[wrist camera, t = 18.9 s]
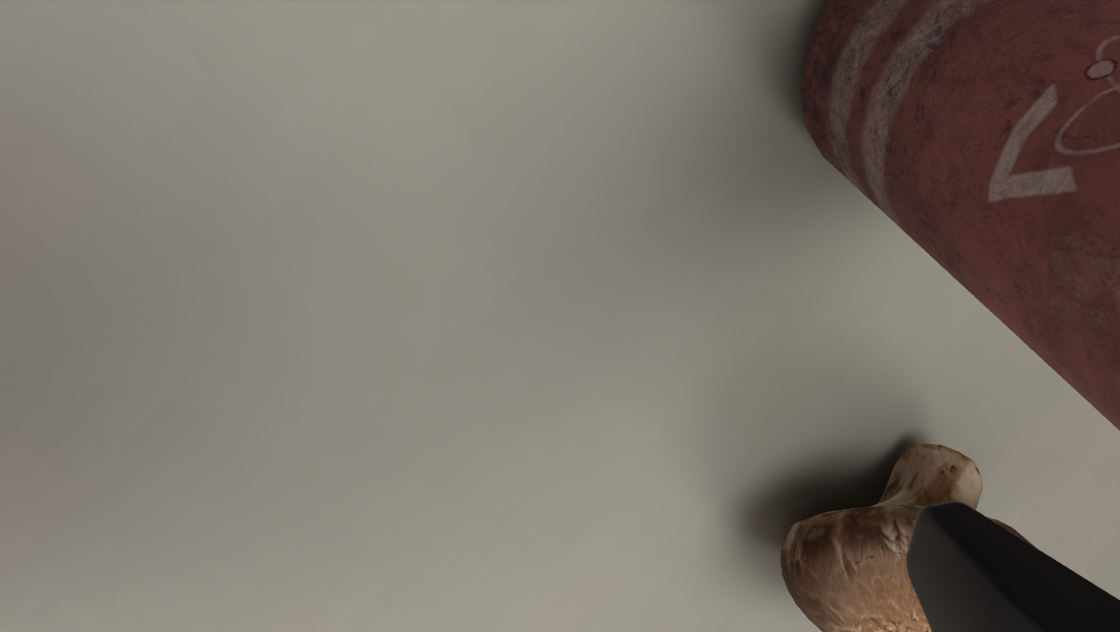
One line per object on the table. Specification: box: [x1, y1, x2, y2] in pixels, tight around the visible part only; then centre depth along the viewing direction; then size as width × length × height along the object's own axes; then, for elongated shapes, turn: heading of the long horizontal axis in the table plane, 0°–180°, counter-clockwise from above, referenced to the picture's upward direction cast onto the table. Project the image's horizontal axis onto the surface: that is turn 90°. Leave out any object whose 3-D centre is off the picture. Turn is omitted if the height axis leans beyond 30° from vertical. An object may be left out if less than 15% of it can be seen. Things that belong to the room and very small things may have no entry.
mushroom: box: [780, 444, 1036, 632], centre depth 29 cm, size 8×8×6 cm
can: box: [800, 0, 1120, 430], centre depth 16 cm, size 6×6×14 cm
